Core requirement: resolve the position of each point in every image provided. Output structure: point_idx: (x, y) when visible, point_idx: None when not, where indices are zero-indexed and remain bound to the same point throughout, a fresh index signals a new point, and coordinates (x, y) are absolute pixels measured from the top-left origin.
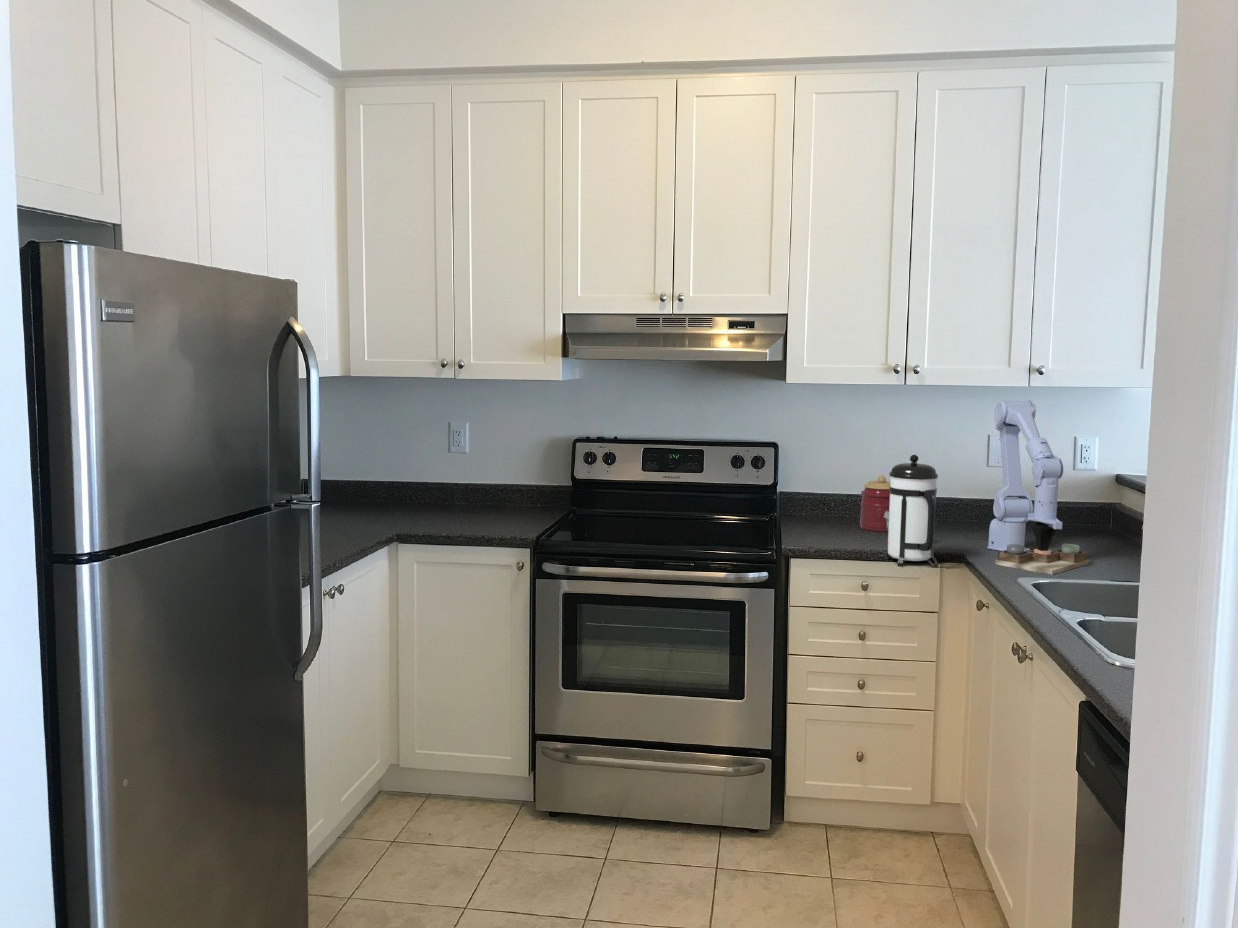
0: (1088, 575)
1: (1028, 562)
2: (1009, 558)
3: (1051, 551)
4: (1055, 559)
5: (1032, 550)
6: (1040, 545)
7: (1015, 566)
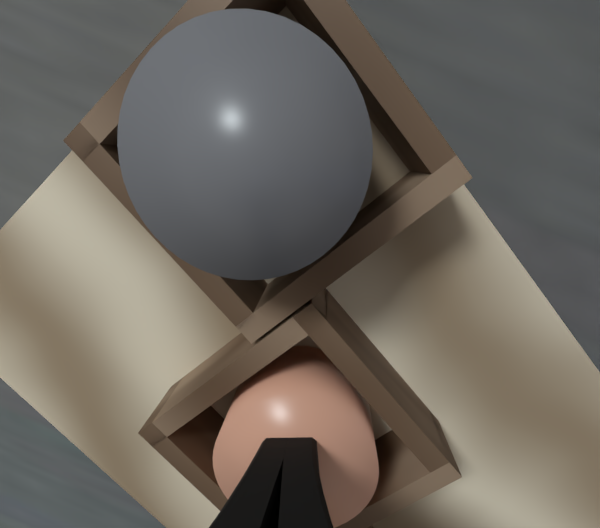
0: (11, 494)
1: None
2: None
3: None
4: None
5: (373, 396)
6: (242, 481)
7: None
